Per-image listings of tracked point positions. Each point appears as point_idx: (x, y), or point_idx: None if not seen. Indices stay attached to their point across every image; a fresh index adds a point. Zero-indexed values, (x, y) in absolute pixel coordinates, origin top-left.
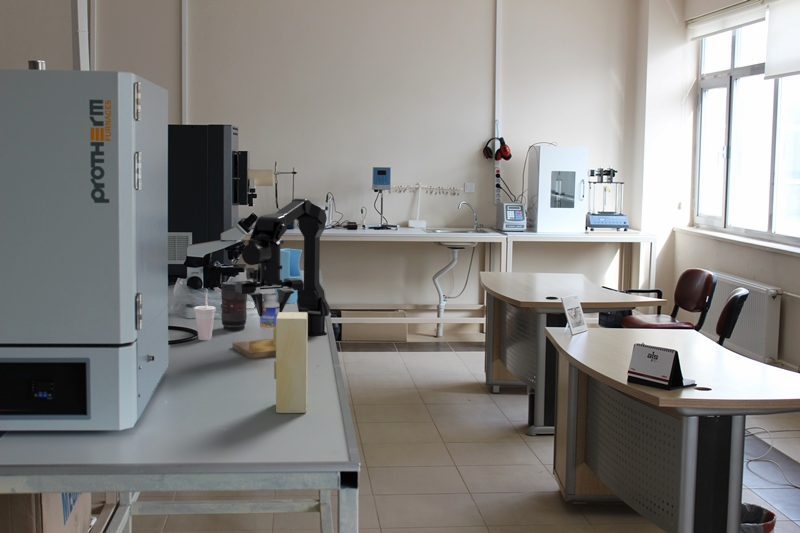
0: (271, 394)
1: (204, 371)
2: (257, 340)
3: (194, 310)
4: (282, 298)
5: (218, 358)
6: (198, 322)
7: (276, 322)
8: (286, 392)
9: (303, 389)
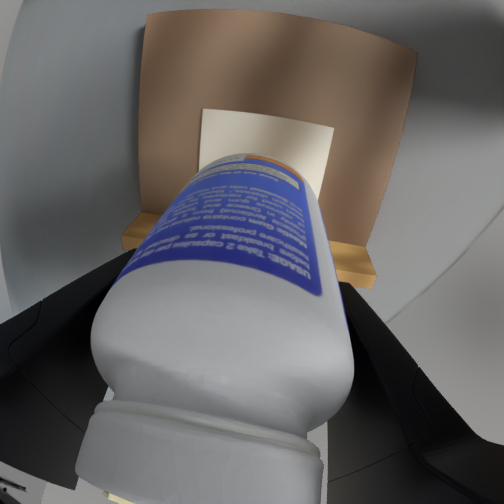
0: None
1: (39, 260)
2: (282, 21)
3: None
4: (339, 475)
5: (66, 161)
6: None
7: (104, 491)
8: None
9: None
